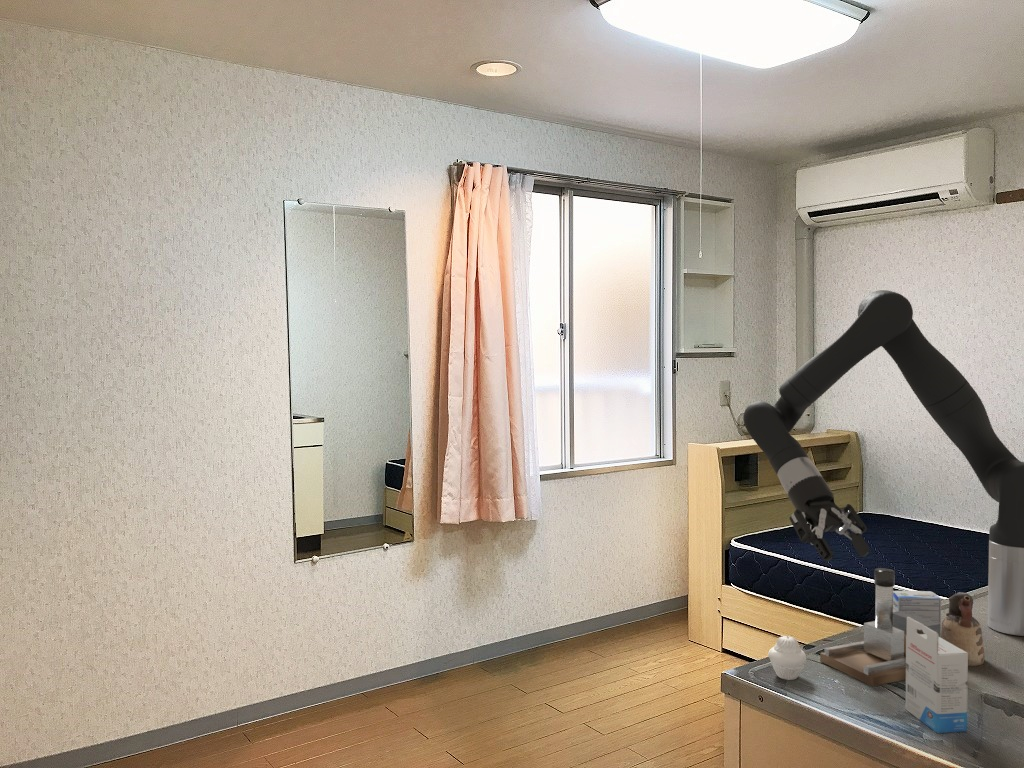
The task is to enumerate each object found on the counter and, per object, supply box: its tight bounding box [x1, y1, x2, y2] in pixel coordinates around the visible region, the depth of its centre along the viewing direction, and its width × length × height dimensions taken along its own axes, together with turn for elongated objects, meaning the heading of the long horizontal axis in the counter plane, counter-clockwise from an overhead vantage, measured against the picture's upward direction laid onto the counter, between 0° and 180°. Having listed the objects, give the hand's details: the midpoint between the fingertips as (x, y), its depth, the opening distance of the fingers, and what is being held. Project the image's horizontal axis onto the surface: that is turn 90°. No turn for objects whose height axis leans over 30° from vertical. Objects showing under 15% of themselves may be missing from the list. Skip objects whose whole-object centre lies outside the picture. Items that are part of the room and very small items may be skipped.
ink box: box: [905, 617, 969, 734], centre depth 124 cm, size 9×5×15 cm, turn 5°
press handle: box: [863, 567, 904, 661], centre depth 145 cm, size 3×6×15 cm, turn 22°
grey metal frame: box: [824, 611, 942, 675], centre depth 146 cm, size 18×10×6 cm, turn 112°
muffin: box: [768, 635, 807, 681], centre depth 141 cm, size 6×6×7 cm
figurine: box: [941, 591, 985, 667], centre depth 149 cm, size 7×7×12 cm
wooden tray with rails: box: [819, 634, 907, 687], centre depth 146 cm, size 18×12×5 cm, turn 112°
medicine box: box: [893, 590, 942, 637], centre depth 159 cm, size 8×4×9 cm, turn 84°
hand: (848, 557), depth 153 cm, fingers open, 8 cm apart
